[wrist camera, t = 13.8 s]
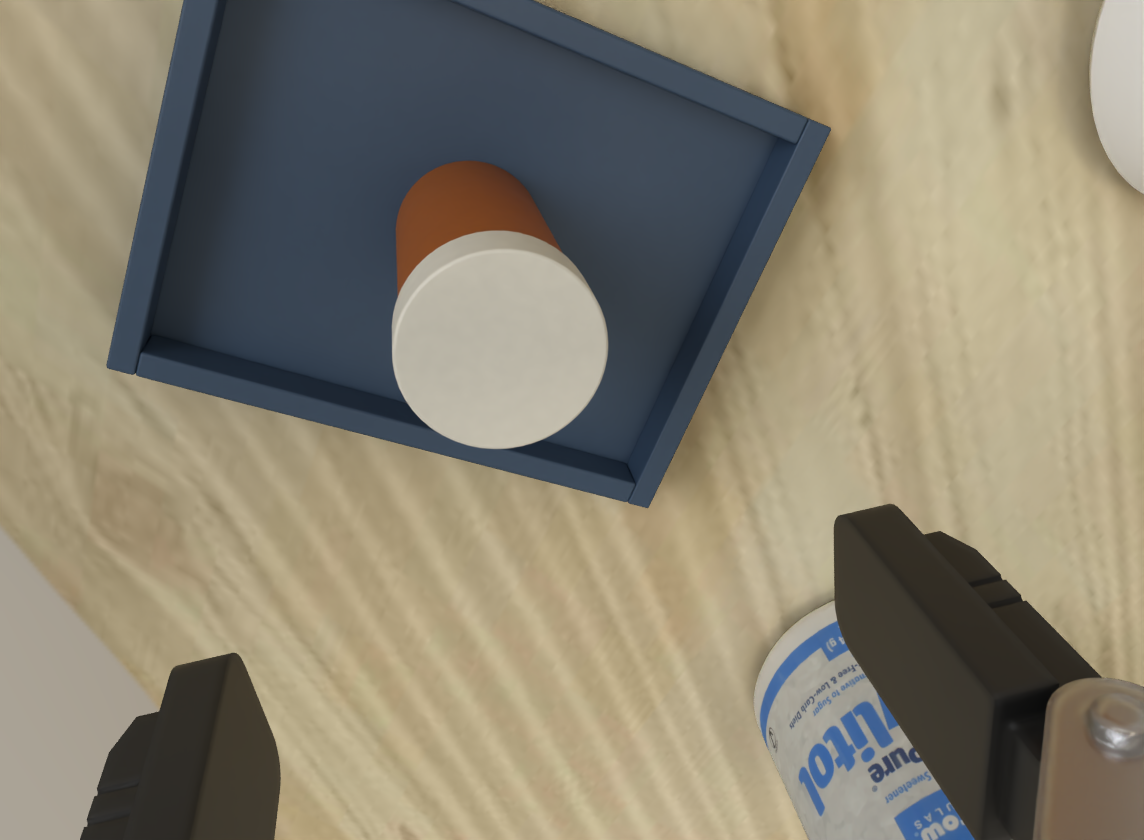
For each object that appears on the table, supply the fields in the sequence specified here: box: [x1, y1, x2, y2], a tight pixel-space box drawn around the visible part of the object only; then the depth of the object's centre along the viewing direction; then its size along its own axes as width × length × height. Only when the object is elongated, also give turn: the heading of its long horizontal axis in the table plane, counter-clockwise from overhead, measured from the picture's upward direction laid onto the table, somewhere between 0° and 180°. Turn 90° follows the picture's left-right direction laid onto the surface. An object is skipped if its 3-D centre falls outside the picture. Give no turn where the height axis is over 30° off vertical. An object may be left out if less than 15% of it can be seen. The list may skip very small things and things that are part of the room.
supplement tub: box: [754, 600, 975, 840], centre depth 34 cm, size 10×10×15 cm
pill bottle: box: [392, 161, 608, 449], centre depth 24 cm, size 5×5×10 cm
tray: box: [107, 0, 831, 508], centre depth 28 cm, size 18×14×2 cm
